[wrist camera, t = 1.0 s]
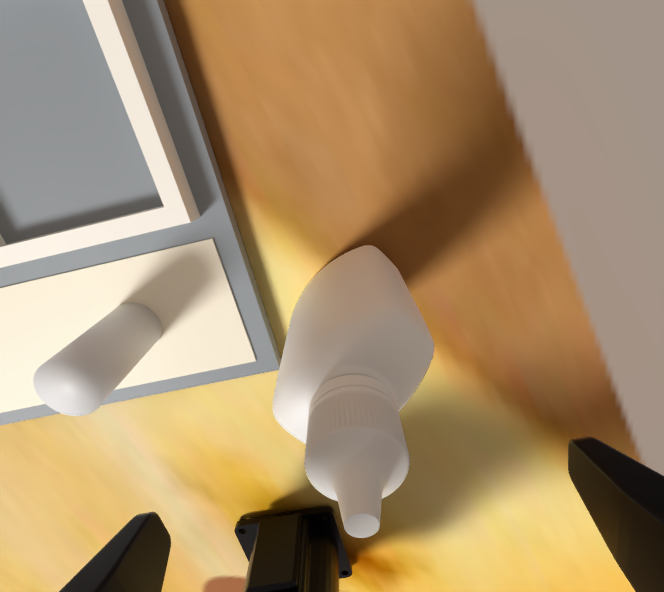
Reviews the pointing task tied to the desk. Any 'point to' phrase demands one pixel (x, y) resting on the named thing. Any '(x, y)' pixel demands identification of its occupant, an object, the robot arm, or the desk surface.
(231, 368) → the board
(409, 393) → the white bottle
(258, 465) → the desk surface
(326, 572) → the robot arm
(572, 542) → the desk surface
